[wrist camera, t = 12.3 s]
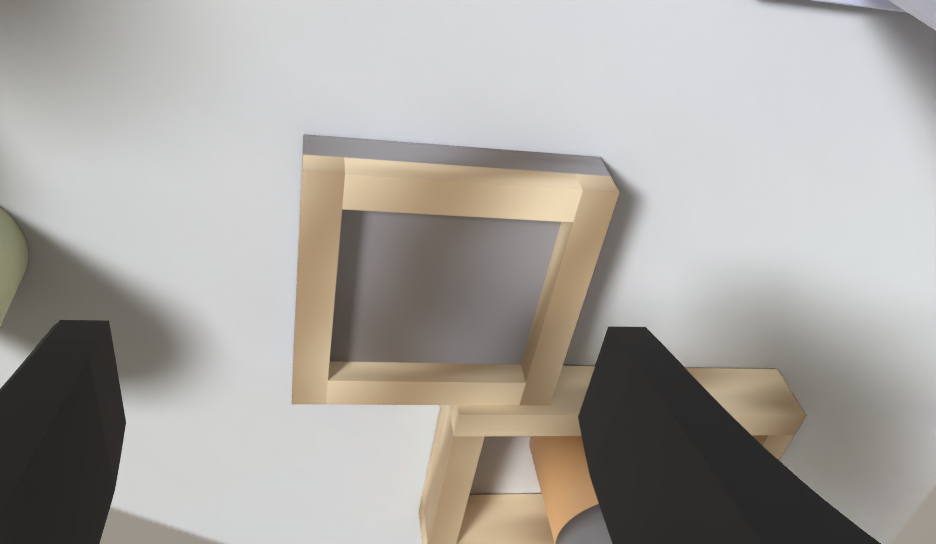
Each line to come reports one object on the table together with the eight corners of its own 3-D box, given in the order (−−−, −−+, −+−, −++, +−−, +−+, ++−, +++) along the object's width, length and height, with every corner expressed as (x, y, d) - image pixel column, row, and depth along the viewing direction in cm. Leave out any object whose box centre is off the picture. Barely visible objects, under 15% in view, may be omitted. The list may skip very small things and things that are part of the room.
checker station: (883, 178, 24) (927, 220, 22) (702, 505, 33) (722, 551, 32) (303, 134, 20) (301, 180, 18) (286, 515, 30) (284, 568, 28)
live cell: (654, 432, 30) (704, 551, 26) (567, 483, 31) (602, 603, 27) (599, 381, 28) (644, 502, 24) (508, 438, 29) (537, 562, 25)
